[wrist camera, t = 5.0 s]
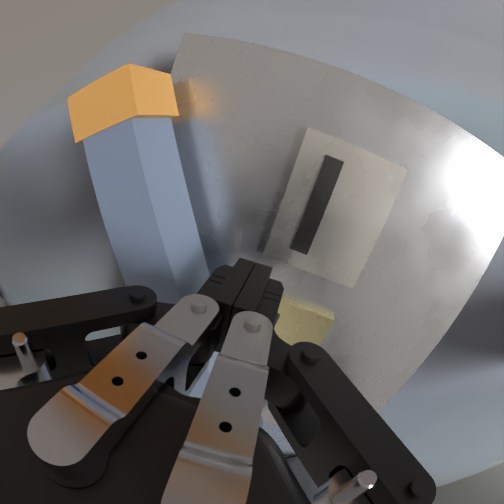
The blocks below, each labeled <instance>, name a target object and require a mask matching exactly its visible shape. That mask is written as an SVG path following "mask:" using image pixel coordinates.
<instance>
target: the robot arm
mask: <svg viewBox="0 0 504 504" xmlns="http://www.w3.org/2000/svg"><path fill="white" fill-rule="evenodd" d="M272 269H273V267H270V266H267V265H263V264H260V263H256V262H253V261H250V260H247V259H244V258H239V259H238V261H237V262H236V263H235V265H234V266H233V267H232V266H229V265H222V266H220V267H218V268H216V269H215V270H214V272H213V273H212V275H211V276H210V277H209V278H208V280H207V281H206V282H205V283H204V284H203V286H202V287H201V288H200V290H199V291H198V292H197V293H196V294H191V295H187V296H185V297H183V298H182V299H181V300H180V301H179V302H178V303H177V304H170V303H163V302H157V295H156V293H155V292H154V291H153V290H152V289H150V288H148V287H145V286H141V285H132V286H126V287H120V288H115V289H109V290H103V291H97V292H91V293H85V294H79V295H73V296H67V297H61V298H55V299H49V300H43V301H37V302H31V303H25V304H18V305H12V306H6V307H0V504H432V503H433V501H434V499H435V496H436V485H435V482H434V480H433V479H432V477H431V476H430V475H429V474H428V472H427V471H426V470H425V469H424V468H423V466H422V465H421V464H420V463H419V462H418V461H417V459H416V458H415V457H414V456H413V455H412V453H411V452H410V451H409V450H408V449H407V447H406V446H405V445H404V444H403V443H402V442H401V440H400V439H399V438H398V437H397V436H396V434H395V433H394V432H393V431H392V430H391V428H390V427H389V426H388V425H387V424H386V422H385V421H384V420H383V419H382V418H381V416H380V415H379V414H378V413H377V412H376V411H375V409H374V408H373V407H372V406H371V405H370V403H369V402H368V401H367V400H366V399H365V397H364V396H363V395H362V394H361V393H360V391H359V390H358V389H357V388H356V387H355V385H354V384H353V383H352V382H351V381H350V379H349V378H348V377H347V376H346V375H345V373H344V372H343V371H342V370H341V369H340V367H339V366H338V365H337V364H336V362H335V361H334V360H333V359H332V358H331V356H330V355H329V354H328V353H327V352H326V351H325V350H324V349H323V348H322V347H320V346H319V345H317V344H314V343H311V342H298V343H295V344H293V345H292V346H291V345H290V344H288V343H286V342H284V341H283V340H282V339H280V338H279V337H278V335H277V334H276V332H275V330H274V322H275V319H276V316H277V312H278V309H279V305H280V302H281V298H282V295H283V291H284V288H283V285H282V283H281V281H277V280H274V279H271V278H270V276H271V273H272ZM118 326H120V330H121V334H119V335H114V336H110V337H105V338H101V339H96V340H91V341H86V340H85V338H86V336H87V335H88V334H89V333H91V332H94V331H99V330H103V329H108V328H113V327H118ZM214 351H216V352H219V353H220V354H219V353H218V355H217V357H216V360H215V362H214V365H213V368H212V371H211V373H210V376H209V379H208V381H207V384H206V387H205V389H204V392H203V395H202V397H201V398H197V397H191V396H189V394H190V393H191V391H192V390H193V388H194V387H195V385H196V384H197V382H198V381H199V379H200V378H201V376H202V374H203V373H204V371H205V370H206V368H207V367H208V365H209V360H210V358H211V357H212V355H213V353H214ZM264 399H266V400H267V406H268V409H269V411H270V412H271V414H272V416H273V417H274V419H275V421H276V422H277V424H278V426H279V427H280V429H281V431H282V432H283V434H284V436H285V437H286V439H287V440H288V442H289V444H290V445H291V447H292V448H293V450H294V452H295V453H296V455H297V457H291V458H286V459H285V457H284V455H283V453H282V452H281V450H280V448H279V446H278V445H277V444H276V442H275V441H274V440H273V438H272V437H271V436H270V435H269V434H268V433H267V432H266V431H264V430H263V429H262V428H261V427H259V424H260V418H261V413H262V407H263V402H264Z"/></svg>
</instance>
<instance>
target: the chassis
mask: <svg viewBox="0 0 504 504" xmlns="http://www.w3.org/2000/svg"><path fill="white" fill-rule="evenodd" d="M171 78H172V83H173V88H174V93H175V98H176V103H177V108H178V113H179V116H176V117H173V118H171V120H172V125H173V130H174V134H175V139H176V143H177V148H178V152H179V156H180V161H181V165H182V169H183V174H184V178H185V182H186V186H187V190H188V194H189V198H190V202H191V206H192V210H193V214H194V218H195V222H196V226H197V230H198V233H199V237H200V241H201V245H202V248H203V252H204V256H205V259H206V263H207V267H208V270H209V274H210V276H211V275H212V273H213V272H214V270H215V269H216V268H218V267H220V266H222V265H229V266H232V267H233V266H234V265H235V263H236V262H237V261H238V259H239V258H244V259H247V260H250V261H253V262H256V263H260V264H263V265H267V266H270V267H273V269H272V273H271V276H270V278H271V279H274V280H277V281H281V283H282V285H283V288H284V291H283V295H282V298H281V302H280V305H279V309H278V312H277V316H276V319H275V322H274V330H275V332H276V334H277V335H278V337H279V338H280V339H282V340H283V341H284V342H286V343H288V344H290V345H291V346H292V345H293V344H295V343H298V342H311V343H314V344H317V345H319V346H320V347H322V348H323V349H324V350H325V351H326V352H327V353H328V354H329V355H330V356H331V358H332V359H333V360H334V361H335V362H336V364H337V365H338V366H339V367H340V369H341V370H342V371H343V372H344V373H345V375H346V376H347V377H348V378H349V379H350V381H351V382H352V383H353V384H354V385H355V387H356V388H357V389H358V390H359V391H360V393H361V394H362V395H363V396H364V397H365V399H366V400H367V401H368V402H369V403H370V405H371V406H372V407H373V408H374V409H375V411H376V412H377V413H378V412H379V411H380V410H381V409H382V408H383V407H384V406H385V404H386V403H387V402H388V401H389V400H390V399H391V398H392V397H393V396H394V395H395V394H396V393H397V392H398V391H399V390H400V389H401V387H402V386H403V385H404V384H405V383H406V382H407V381H408V380H409V378H410V377H411V376H412V375H413V374H414V373H415V371H416V370H417V369H418V368H419V367H420V365H421V364H422V363H423V362H424V361H425V359H426V358H427V357H428V356H429V354H430V353H431V352H432V350H433V349H434V348H435V347H436V345H437V344H438V343H439V341H440V340H441V339H442V337H443V336H444V335H445V333H446V332H447V330H448V329H449V328H450V326H451V325H452V323H453V322H454V320H455V319H456V317H457V316H458V314H459V313H460V311H461V310H462V308H463V307H464V305H465V304H466V302H467V301H468V299H469V297H470V296H471V294H472V293H473V291H474V289H475V288H476V286H477V284H478V283H479V281H480V279H481V277H482V276H483V274H484V272H485V270H486V268H487V267H488V265H489V263H490V261H491V259H492V257H493V255H494V253H495V251H496V249H497V247H498V245H499V243H500V241H501V239H502V237H503V235H504V158H503V157H502V156H501V155H499V154H498V153H497V152H495V151H494V150H493V149H491V148H490V147H488V146H487V145H486V144H484V143H483V142H481V141H480V140H479V139H477V138H476V137H474V136H473V135H471V134H470V133H468V132H467V131H465V130H464V129H462V128H461V127H459V126H457V125H456V124H454V123H453V122H451V121H449V120H448V119H446V118H444V117H443V116H441V115H439V114H437V113H436V112H434V111H432V110H430V109H428V108H427V107H425V106H423V105H421V104H419V103H417V102H415V101H414V100H412V99H410V98H408V97H406V96H404V95H402V94H400V93H397V92H395V91H393V90H391V89H389V88H387V87H385V86H382V85H380V84H378V83H376V82H373V81H371V80H369V79H366V78H364V77H361V76H359V75H356V74H354V73H351V72H349V71H346V70H343V69H341V68H338V67H335V66H332V65H329V64H326V63H323V62H320V61H317V60H314V59H311V58H308V57H304V56H301V55H298V54H294V53H290V52H287V51H283V50H279V49H275V48H271V47H267V46H263V45H258V44H254V43H249V42H244V41H239V40H233V39H227V38H221V37H215V36H208V35H200V34H191V33H184V34H183V37H182V40H181V43H180V46H179V49H178V52H177V55H176V58H175V61H174V64H173V67H172V70H171ZM261 416H262V418H263V422H265V423H269V424H272V425H275V426H278V424H277V422H276V421H275V419H274V417H273V416H272V414H271V412H270V411H269V409H268V406H267V400H266V399H264V402H263V407H262V413H261Z"/></svg>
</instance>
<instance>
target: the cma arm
mask: <svg viewBox="0 0 504 504" xmlns="http://www.w3.org/2000/svg"><path fill="white" fill-rule="evenodd" d="M68 105H69V111H70V118H71V123H72V129H73V134H74V139H75V143H79V142H83V144H84V149H85V153H86V158H87V162H88V167H89V171H90V175H91V179H92V183H93V187H94V190H95V194H96V198H97V201H98V205H99V208H100V212H101V215H102V218H103V222H104V225H105V228H106V231H107V234H108V237H109V241H110V244H111V247H112V249H113V252H114V255H115V258H116V261H117V264H118V267H119V269H120V272H121V275H122V277H123V280H124V283H125V285H126V286H132V285H141V286H145V287H148V288H150V289H152V290H153V291H154V292H155V293H156V295H157V302H163V303H170V304H177V303H178V302H179V301H180V300H181V299H182V298H183V297H185V296H187V295H191V294H196V293H197V292H198V291H199V290H200V288H201V287H202V286H203V284H204V283H205V282H206V281H207V280H208V278H209V277H210V274H209V270H208V267H207V263H206V259H205V256H204V252H203V248H202V245H201V241H200V237H199V233H198V230H197V226H196V222H195V218H194V214H193V210H192V206H191V202H190V198H189V194H188V190H187V186H186V182H185V178H184V174H183V169H182V165H181V161H180V156H179V152H178V148H177V143H176V139H175V134H174V130H173V125H172V120H171V118H173V117H176V116H179V113H178V108H177V103H176V98H175V93H174V88H173V83H172V78H171V74H168V73H164V72H161V71H157V70H153V69H150V68H146V67H142V66H138V65H134V64H129V63H128V64H126V65H124V66H122V67H120V68H118V69H116V70H114V71H113V72H111V73H109V74H107V75H105V76H103V77H101V78H100V79H98V80H96V81H94V82H92V83H91V84H89V85H87V86H86V87H84V88H82V89H81V90H79V91H77V92H76V93H74V94H73V95H71V96H69V97H68ZM218 353H219V352H216V351H214V353H213V355H212V357H211V358H210V360H209V365H208V367H207V368H206V370H205V371H204V373H203V374H202V376H201V378H200V379H199V381H198V382H197V384H196V385H195V387H194V388H193V390H192V391H191V393H190V394H189V396H191V397H197V398H201V397H202V395H203V392H204V389H205V387H206V384H207V381H208V379H209V376H210V373H211V371H212V368H213V365H214V362H215V360H216V357H217V355H218ZM219 354H220V353H219ZM262 424H263V418H262V416H261V418H260V424H259V427H261V428H262Z"/></svg>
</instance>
